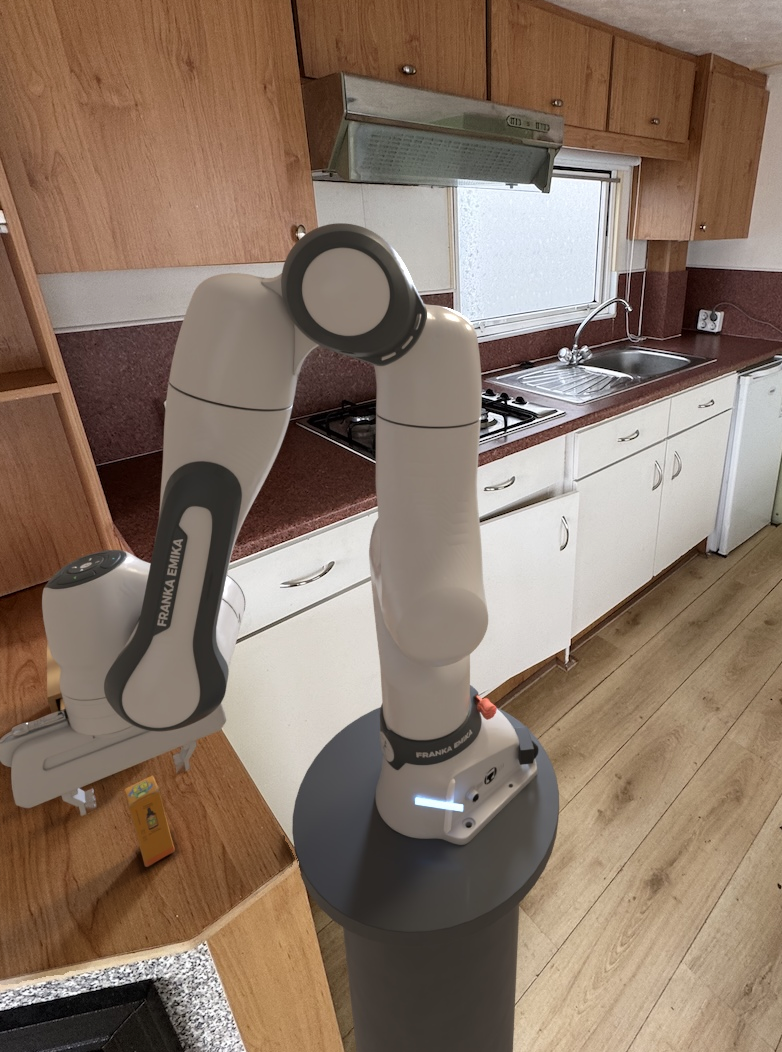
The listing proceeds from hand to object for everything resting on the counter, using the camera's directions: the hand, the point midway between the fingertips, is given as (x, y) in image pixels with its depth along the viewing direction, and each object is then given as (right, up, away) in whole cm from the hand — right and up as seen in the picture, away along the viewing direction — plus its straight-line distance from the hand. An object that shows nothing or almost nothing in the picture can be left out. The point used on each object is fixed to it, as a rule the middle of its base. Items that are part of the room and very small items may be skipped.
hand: (137, 788), depth 68 cm
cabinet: (-21, -2, +25) cm, 33 cm away
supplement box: (0, -10, +4) cm, 11 cm away
